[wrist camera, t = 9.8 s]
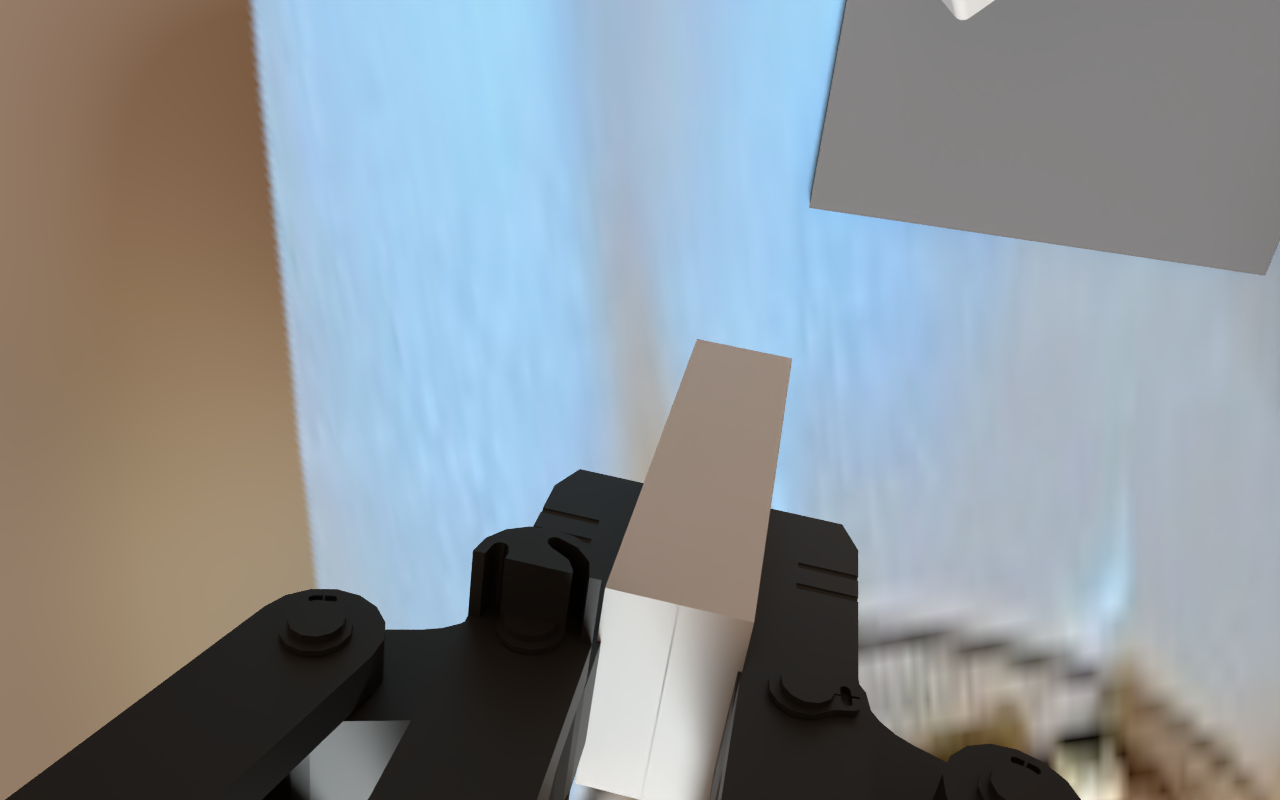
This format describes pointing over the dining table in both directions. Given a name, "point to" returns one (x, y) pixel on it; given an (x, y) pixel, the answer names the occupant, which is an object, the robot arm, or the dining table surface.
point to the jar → (966, 7)
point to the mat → (1064, 124)
